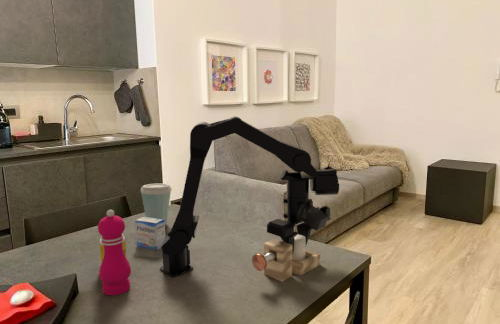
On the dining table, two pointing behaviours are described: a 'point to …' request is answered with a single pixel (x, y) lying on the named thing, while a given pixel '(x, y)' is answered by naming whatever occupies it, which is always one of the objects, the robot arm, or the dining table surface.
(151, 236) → the medicine box
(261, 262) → the lock pin
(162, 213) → the disposable coffee cup
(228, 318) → the dining table surface
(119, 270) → the pepper mill
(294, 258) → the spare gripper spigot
